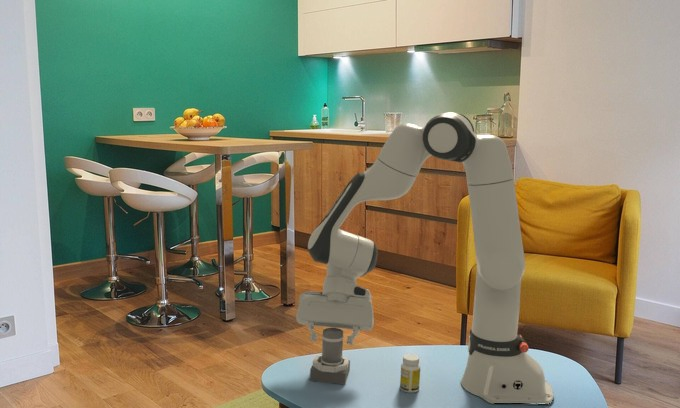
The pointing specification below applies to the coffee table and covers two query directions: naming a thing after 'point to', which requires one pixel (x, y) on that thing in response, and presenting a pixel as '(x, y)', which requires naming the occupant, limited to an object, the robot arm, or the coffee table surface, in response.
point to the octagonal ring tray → (329, 371)
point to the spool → (332, 347)
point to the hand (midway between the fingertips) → (331, 342)
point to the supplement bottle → (410, 373)
